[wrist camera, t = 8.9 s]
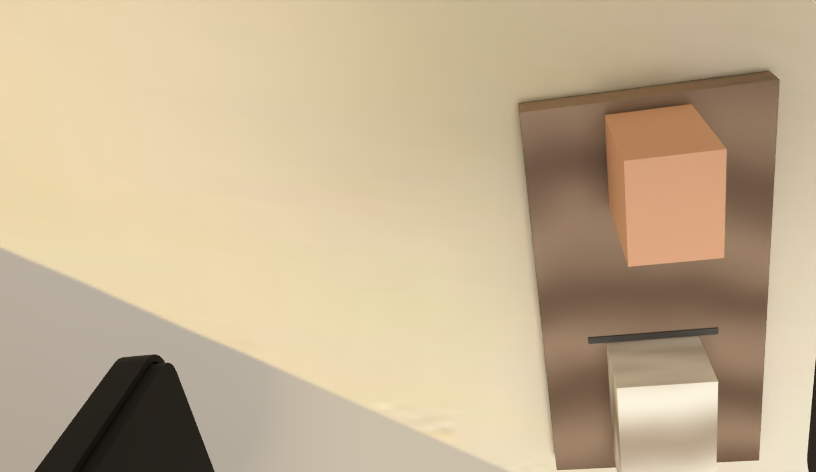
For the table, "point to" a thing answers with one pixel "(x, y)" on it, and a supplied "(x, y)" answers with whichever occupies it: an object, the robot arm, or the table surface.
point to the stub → (666, 185)
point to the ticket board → (651, 289)
